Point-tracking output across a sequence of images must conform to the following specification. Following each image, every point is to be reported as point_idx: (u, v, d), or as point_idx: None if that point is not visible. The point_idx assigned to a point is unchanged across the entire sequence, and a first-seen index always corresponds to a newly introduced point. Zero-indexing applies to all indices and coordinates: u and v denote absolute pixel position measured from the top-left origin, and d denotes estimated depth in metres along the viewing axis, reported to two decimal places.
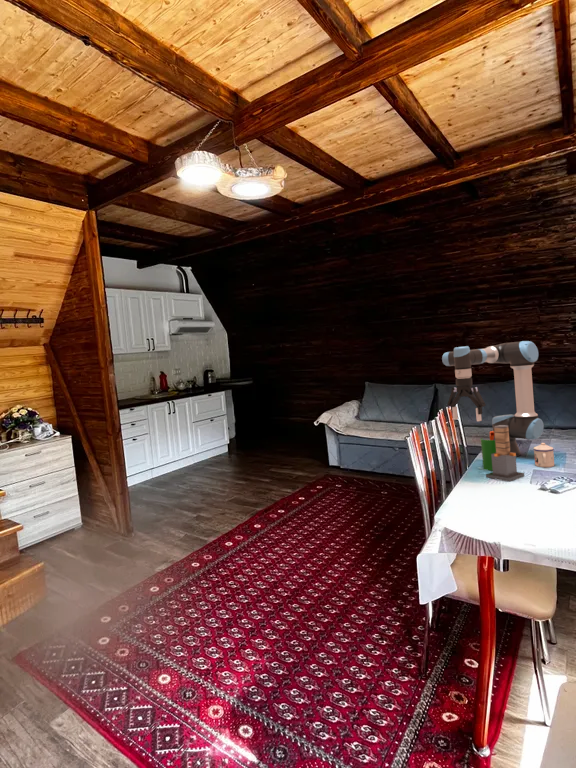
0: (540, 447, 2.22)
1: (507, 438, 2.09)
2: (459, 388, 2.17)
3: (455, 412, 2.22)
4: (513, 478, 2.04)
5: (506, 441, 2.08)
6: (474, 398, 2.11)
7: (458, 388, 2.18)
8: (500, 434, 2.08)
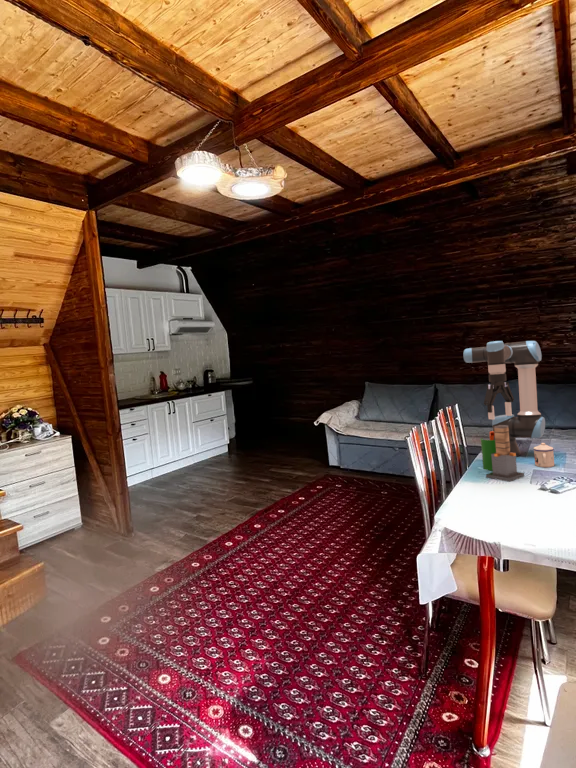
0: (540, 447, 2.22)
1: (507, 438, 2.09)
2: None
3: (507, 408, 2.13)
4: (513, 478, 2.04)
5: (506, 441, 2.08)
6: None
7: None
8: (500, 434, 2.08)
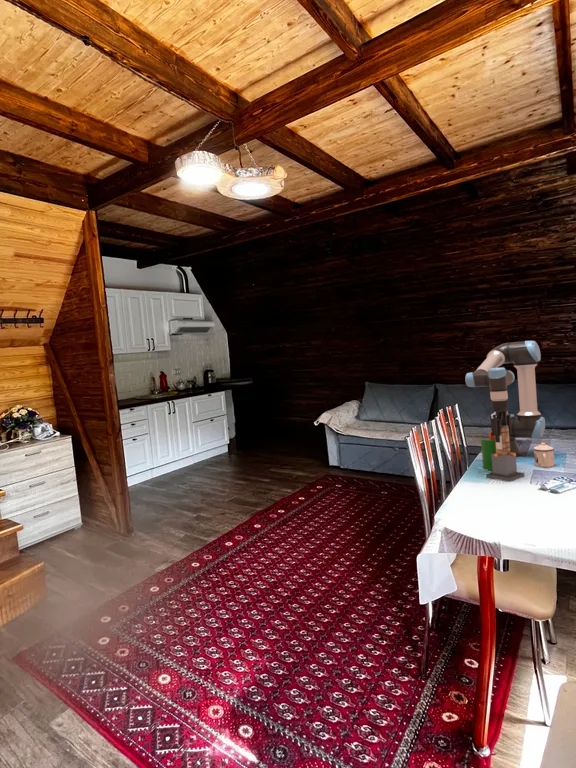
0: (540, 447, 2.22)
1: (507, 438, 2.09)
2: None
3: None
4: (513, 478, 2.04)
5: (506, 441, 2.08)
6: None
7: None
8: (500, 434, 2.08)
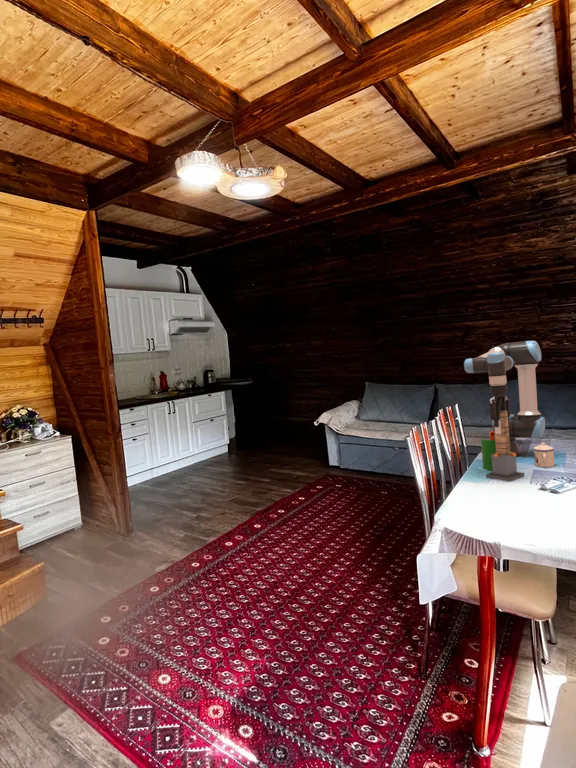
0: (540, 447, 2.22)
1: (506, 422, 2.08)
2: None
3: None
4: (513, 478, 2.04)
5: (505, 426, 2.08)
6: None
7: None
8: (499, 419, 2.08)
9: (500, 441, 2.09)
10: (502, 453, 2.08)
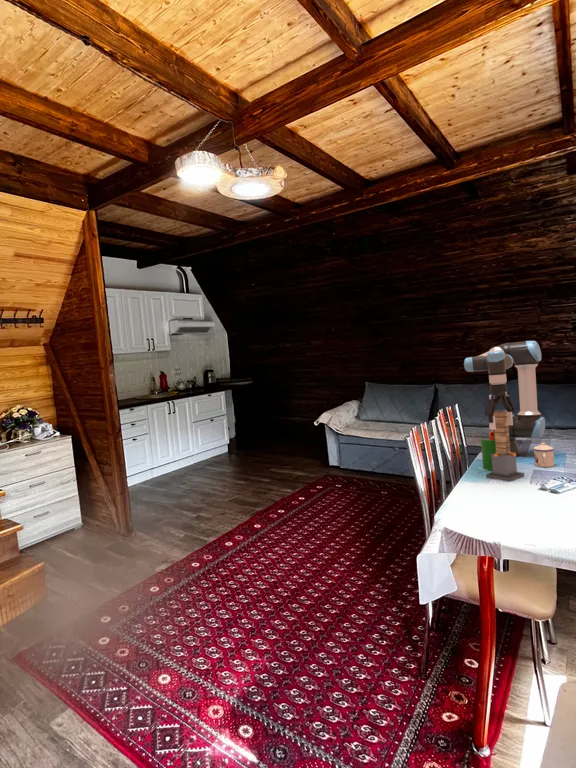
0: (540, 447, 2.22)
1: (506, 422, 2.08)
2: None
3: (508, 417, 2.13)
4: (513, 478, 2.04)
5: (505, 426, 2.08)
6: None
7: None
8: (499, 419, 2.08)
9: (500, 441, 2.09)
10: (502, 453, 2.08)
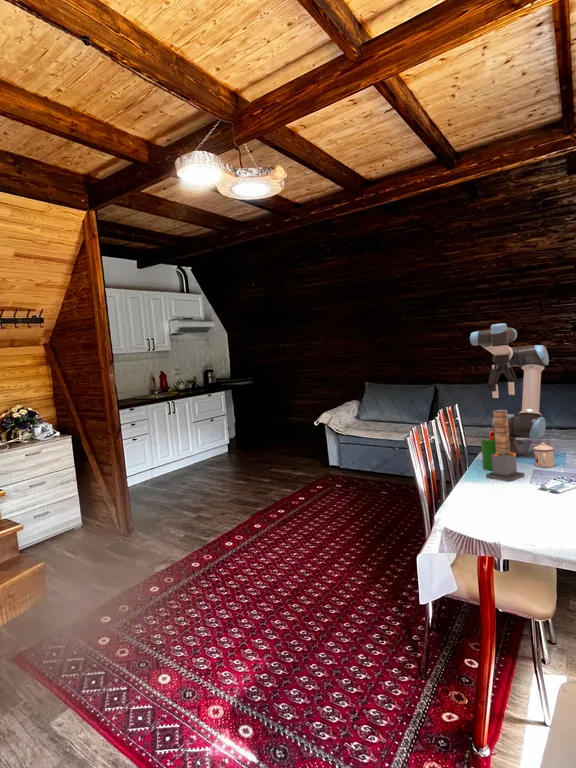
0: (540, 447, 2.22)
1: (506, 422, 2.08)
2: None
3: (510, 387, 2.24)
4: (513, 478, 2.04)
5: (505, 426, 2.08)
6: None
7: None
8: (499, 419, 2.08)
9: (500, 441, 2.09)
10: (502, 453, 2.08)
